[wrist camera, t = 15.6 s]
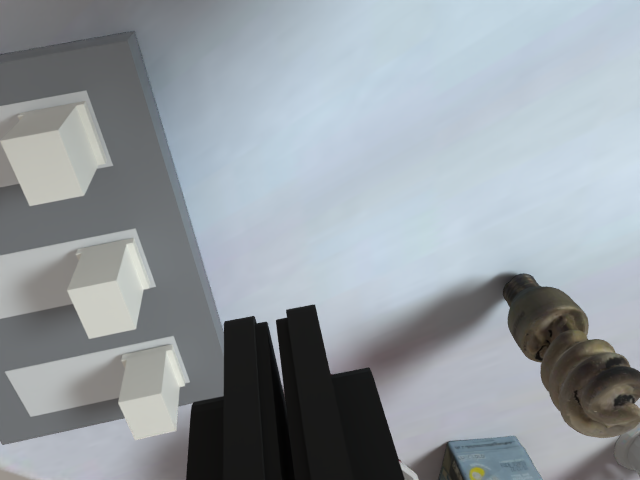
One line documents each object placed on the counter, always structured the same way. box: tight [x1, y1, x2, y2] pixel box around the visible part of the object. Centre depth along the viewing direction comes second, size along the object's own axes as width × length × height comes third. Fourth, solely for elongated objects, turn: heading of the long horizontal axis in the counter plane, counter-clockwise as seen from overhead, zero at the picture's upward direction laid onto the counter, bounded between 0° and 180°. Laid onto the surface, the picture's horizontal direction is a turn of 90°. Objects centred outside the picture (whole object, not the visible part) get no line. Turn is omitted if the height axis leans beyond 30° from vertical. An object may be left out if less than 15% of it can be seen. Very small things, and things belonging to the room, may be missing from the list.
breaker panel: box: [0, 31, 224, 445], centre depth 39 cm, size 27×18×3 cm, turn 8°
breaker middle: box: [67, 238, 151, 339], centre depth 35 cm, size 4×4×5 cm
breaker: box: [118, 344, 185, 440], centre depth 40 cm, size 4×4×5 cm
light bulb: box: [503, 274, 640, 438], centre depth 41 cm, size 6×6×15 cm
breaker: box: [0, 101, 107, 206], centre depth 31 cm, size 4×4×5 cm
